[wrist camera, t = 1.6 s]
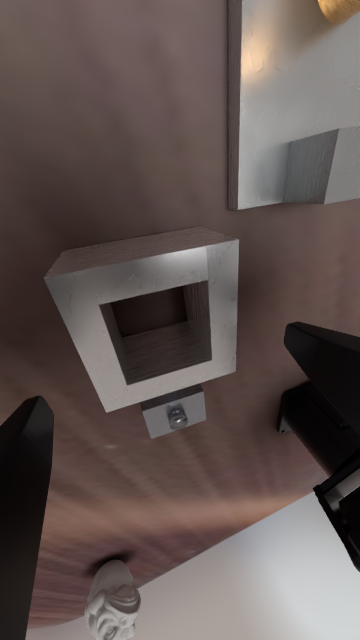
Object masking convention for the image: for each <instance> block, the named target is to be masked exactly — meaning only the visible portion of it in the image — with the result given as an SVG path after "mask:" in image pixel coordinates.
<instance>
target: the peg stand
mask: <svg viewBox="0 0 360 640" xmlns="http://www.w3.org/2000/svg"><path fill="white" fill-rule="evenodd" d="M357 198H360V0H228V209H235V210H240V209H246V208H252V207H258V206H264V205H269V204H275V203H281V202H288V203H307V204H329V203H334V202H340V201H346V200H351V199H357Z"/></svg>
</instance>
